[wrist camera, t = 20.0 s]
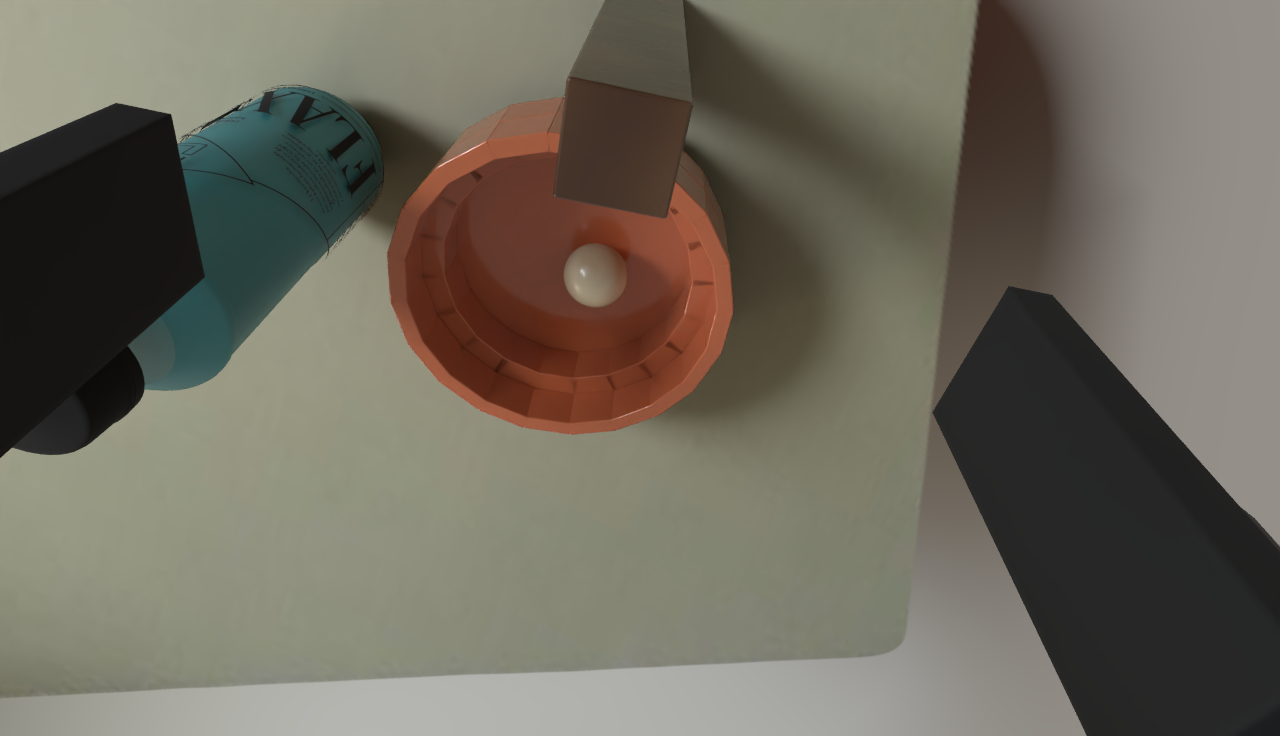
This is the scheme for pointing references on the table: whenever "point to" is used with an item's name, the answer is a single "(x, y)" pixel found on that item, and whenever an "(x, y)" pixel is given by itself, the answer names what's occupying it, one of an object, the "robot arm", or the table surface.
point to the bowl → (555, 284)
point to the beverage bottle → (236, 246)
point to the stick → (627, 109)
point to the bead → (595, 275)
